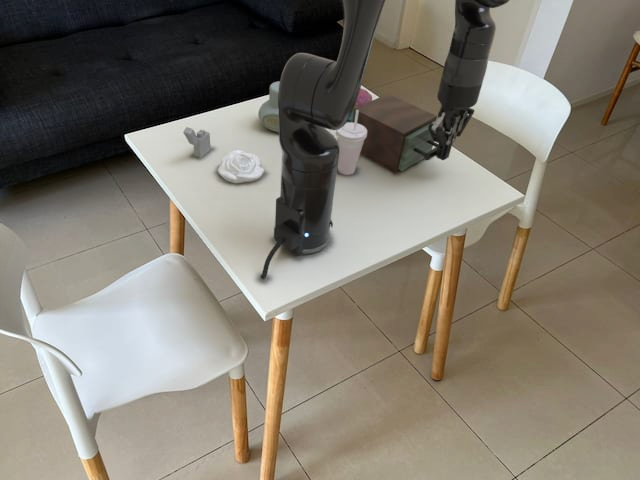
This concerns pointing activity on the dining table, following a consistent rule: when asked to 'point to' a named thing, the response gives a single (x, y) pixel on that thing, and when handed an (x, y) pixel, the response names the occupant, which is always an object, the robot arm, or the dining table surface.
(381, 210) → the dining table surface
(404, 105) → the cabinet
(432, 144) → the drawer
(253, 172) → the rose
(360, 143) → the smoothie
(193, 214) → the dining table surface
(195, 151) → the lighter
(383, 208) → the dining table surface
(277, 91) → the air freshener
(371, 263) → the dining table surface
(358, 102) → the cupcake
